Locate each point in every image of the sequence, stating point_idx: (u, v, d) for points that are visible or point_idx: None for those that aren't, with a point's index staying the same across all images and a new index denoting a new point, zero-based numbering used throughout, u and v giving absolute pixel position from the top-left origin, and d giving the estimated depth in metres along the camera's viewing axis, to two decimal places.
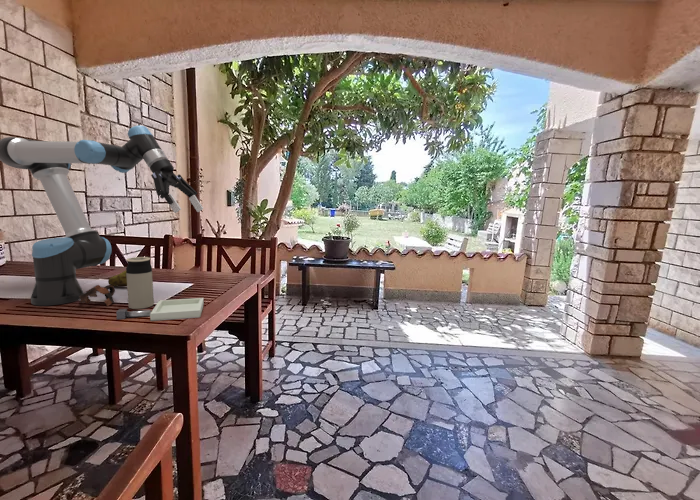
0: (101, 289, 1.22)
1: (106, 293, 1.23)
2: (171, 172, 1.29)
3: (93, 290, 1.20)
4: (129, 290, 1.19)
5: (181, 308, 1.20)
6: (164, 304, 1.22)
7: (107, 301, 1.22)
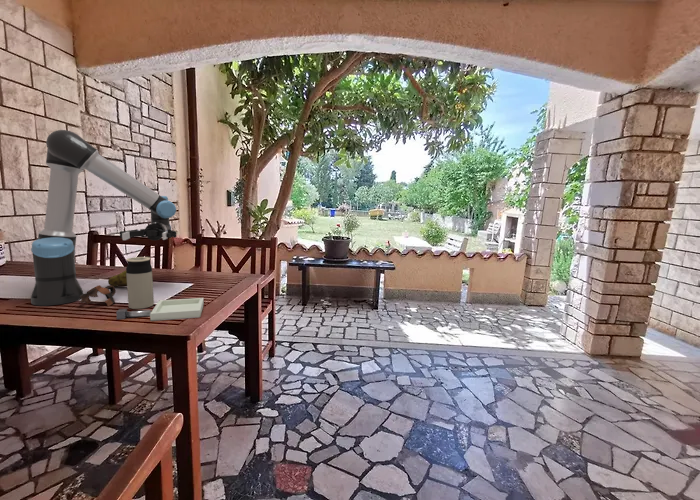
0: (102, 289, 1.22)
1: (107, 293, 1.23)
2: None
3: (94, 290, 1.20)
4: (129, 290, 1.19)
5: (181, 308, 1.20)
6: (164, 304, 1.22)
7: (108, 301, 1.22)
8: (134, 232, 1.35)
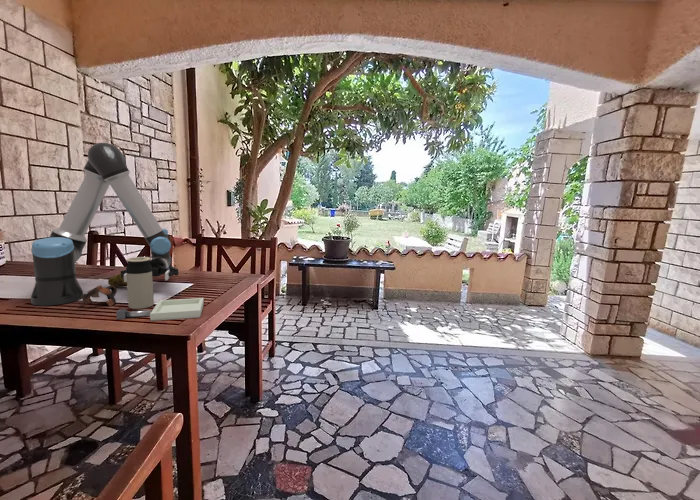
0: (103, 289, 1.22)
1: (108, 293, 1.22)
2: None
3: (95, 290, 1.20)
4: (129, 290, 1.19)
5: (181, 308, 1.20)
6: (164, 304, 1.22)
7: (109, 302, 1.22)
8: None
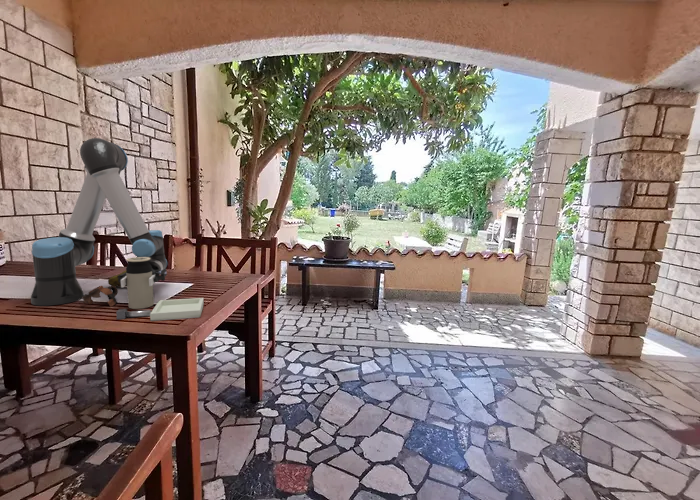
0: (104, 290, 1.22)
1: (109, 294, 1.22)
2: None
3: (96, 291, 1.19)
4: (129, 290, 1.19)
5: (181, 308, 1.20)
6: (164, 304, 1.22)
7: (110, 302, 1.22)
8: None
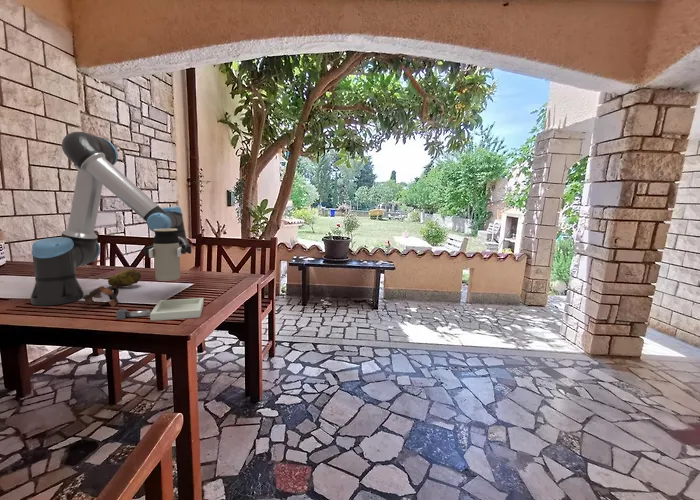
0: (105, 290, 1.21)
1: (110, 294, 1.22)
2: None
3: (97, 291, 1.19)
4: (157, 261, 1.15)
5: (181, 308, 1.20)
6: (164, 304, 1.22)
7: (112, 302, 1.21)
8: None
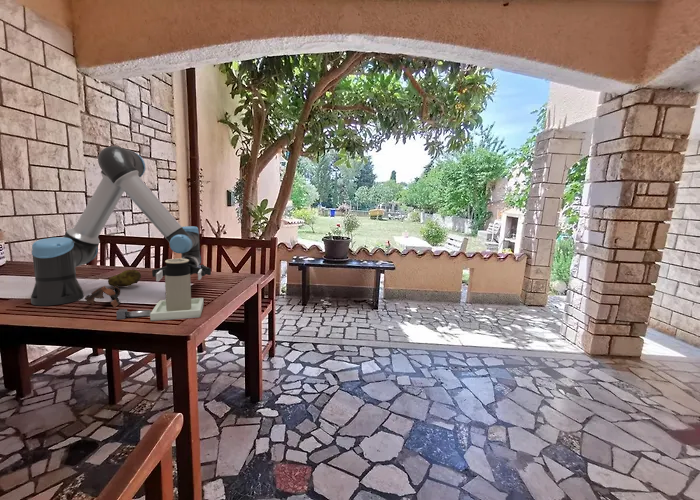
0: (107, 290, 1.21)
1: (112, 294, 1.21)
2: None
3: (99, 291, 1.19)
4: (168, 293, 1.14)
5: None
6: (164, 304, 1.22)
7: (114, 302, 1.21)
8: None
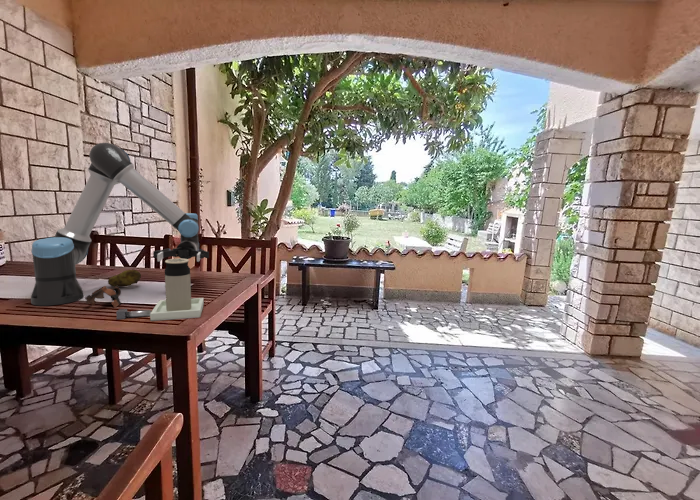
0: (108, 290, 1.21)
1: (113, 294, 1.21)
2: None
3: (100, 292, 1.19)
4: (168, 293, 1.14)
5: None
6: (164, 304, 1.22)
7: (114, 303, 1.21)
8: (167, 252, 1.33)
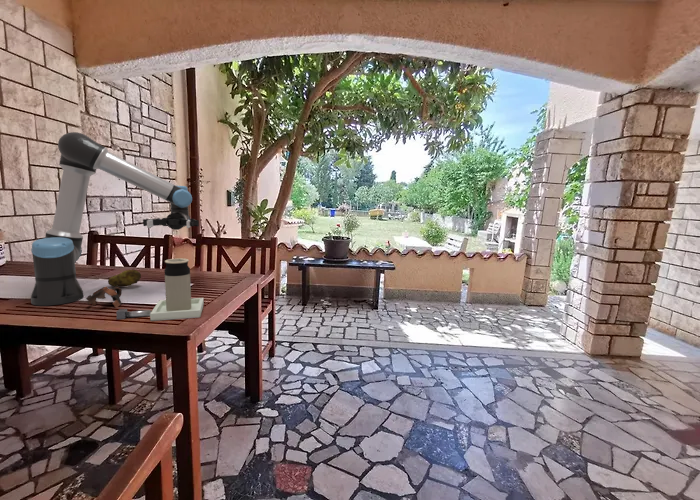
0: (109, 291, 1.21)
1: (114, 295, 1.21)
2: None
3: (101, 292, 1.18)
4: (168, 293, 1.14)
5: None
6: (164, 304, 1.22)
7: (115, 303, 1.21)
8: (157, 220, 1.35)
